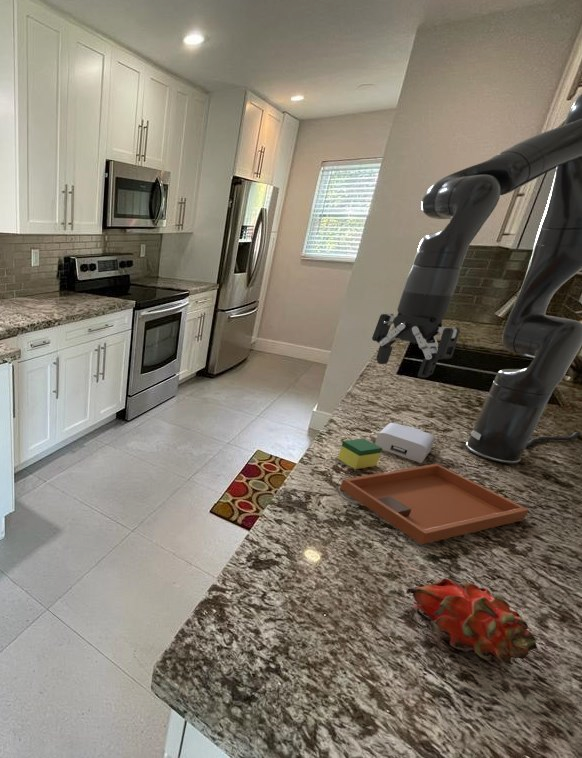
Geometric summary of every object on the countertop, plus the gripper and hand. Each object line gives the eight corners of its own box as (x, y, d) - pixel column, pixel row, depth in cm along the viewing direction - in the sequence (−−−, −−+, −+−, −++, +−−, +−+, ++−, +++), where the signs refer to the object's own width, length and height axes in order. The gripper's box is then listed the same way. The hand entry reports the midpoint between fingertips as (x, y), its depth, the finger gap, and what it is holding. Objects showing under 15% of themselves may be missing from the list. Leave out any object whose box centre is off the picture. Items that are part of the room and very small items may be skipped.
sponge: (357, 457, 94) (363, 438, 92) (375, 467, 90) (382, 448, 88) (336, 460, 93) (342, 440, 91) (354, 471, 89) (361, 451, 87)
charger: (435, 445, 101) (420, 465, 92) (390, 431, 108) (373, 448, 98) (441, 428, 99) (428, 447, 90) (396, 414, 106) (378, 431, 97)
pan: (432, 474, 88) (436, 463, 87) (522, 522, 74) (529, 509, 74) (339, 491, 82) (342, 479, 81) (419, 547, 68) (425, 533, 67)
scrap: (387, 502, 78) (390, 495, 77) (409, 516, 74) (411, 509, 74) (371, 505, 77) (374, 498, 76) (392, 519, 73) (395, 512, 72)
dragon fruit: (527, 692, 48) (399, 632, 57) (536, 621, 51) (413, 575, 60) (541, 676, 43) (398, 613, 52) (550, 599, 46) (414, 552, 55)
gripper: (484, 296, 74) (452, 380, 79) (405, 285, 86) (382, 358, 92) (455, 297, 72) (423, 383, 77) (378, 285, 84) (356, 360, 90)
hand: (401, 369), depth 85 cm, fingers open, 8 cm apart
